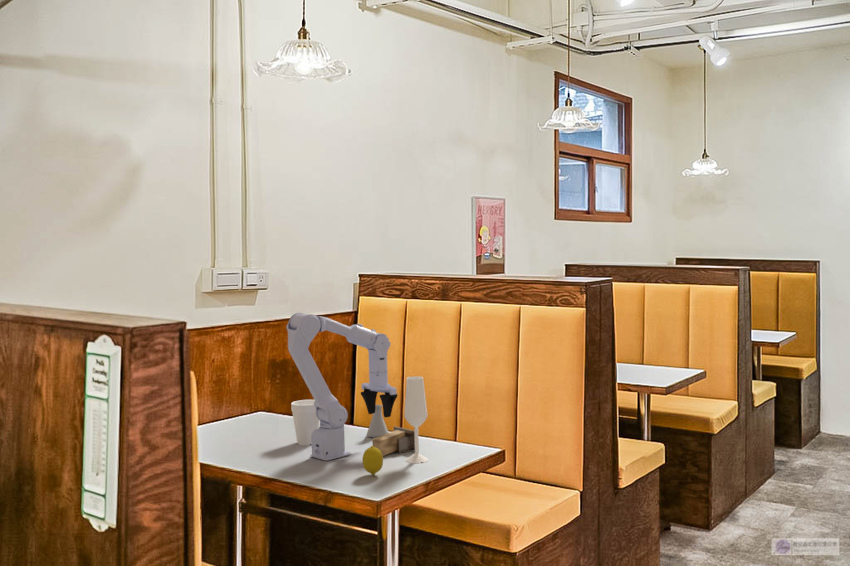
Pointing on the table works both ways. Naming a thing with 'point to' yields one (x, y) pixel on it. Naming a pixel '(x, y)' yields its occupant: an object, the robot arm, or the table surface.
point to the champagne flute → (415, 411)
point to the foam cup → (304, 420)
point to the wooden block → (388, 442)
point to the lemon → (372, 460)
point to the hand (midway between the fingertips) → (379, 415)
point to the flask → (377, 424)
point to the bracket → (405, 440)
